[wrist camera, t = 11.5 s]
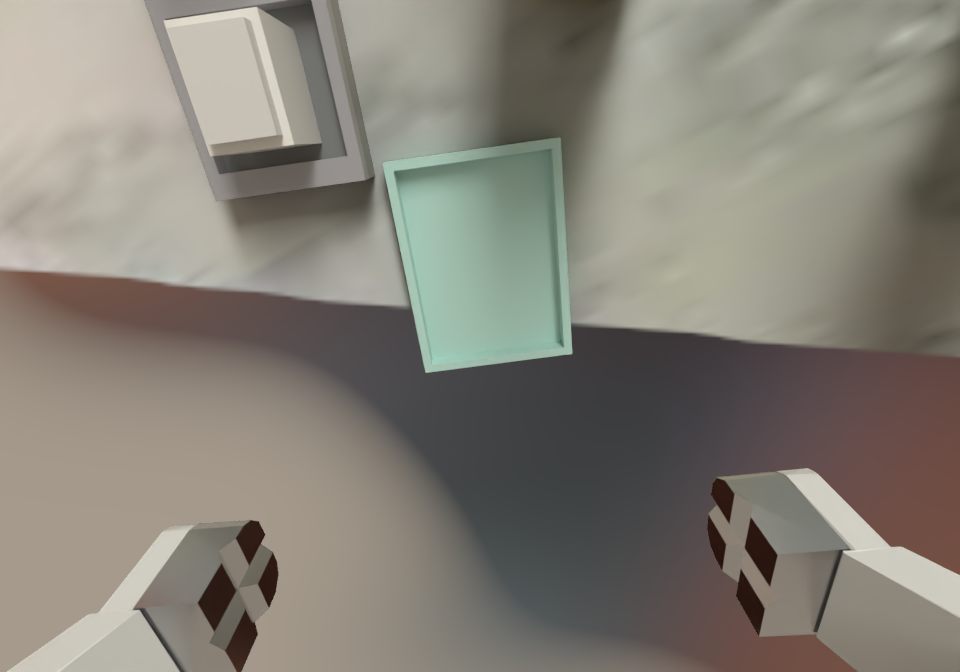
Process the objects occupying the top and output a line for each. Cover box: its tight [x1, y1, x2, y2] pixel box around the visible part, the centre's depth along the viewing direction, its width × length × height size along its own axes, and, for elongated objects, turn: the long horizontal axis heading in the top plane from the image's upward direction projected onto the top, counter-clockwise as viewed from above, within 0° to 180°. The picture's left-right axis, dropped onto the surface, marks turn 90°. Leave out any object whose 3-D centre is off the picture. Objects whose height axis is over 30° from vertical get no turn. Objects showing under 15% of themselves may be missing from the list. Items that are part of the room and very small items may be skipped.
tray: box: [383, 137, 572, 373], centre depth 33 cm, size 12×16×2 cm
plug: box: [164, 7, 322, 156], centre depth 24 cm, size 4×6×6 cm
